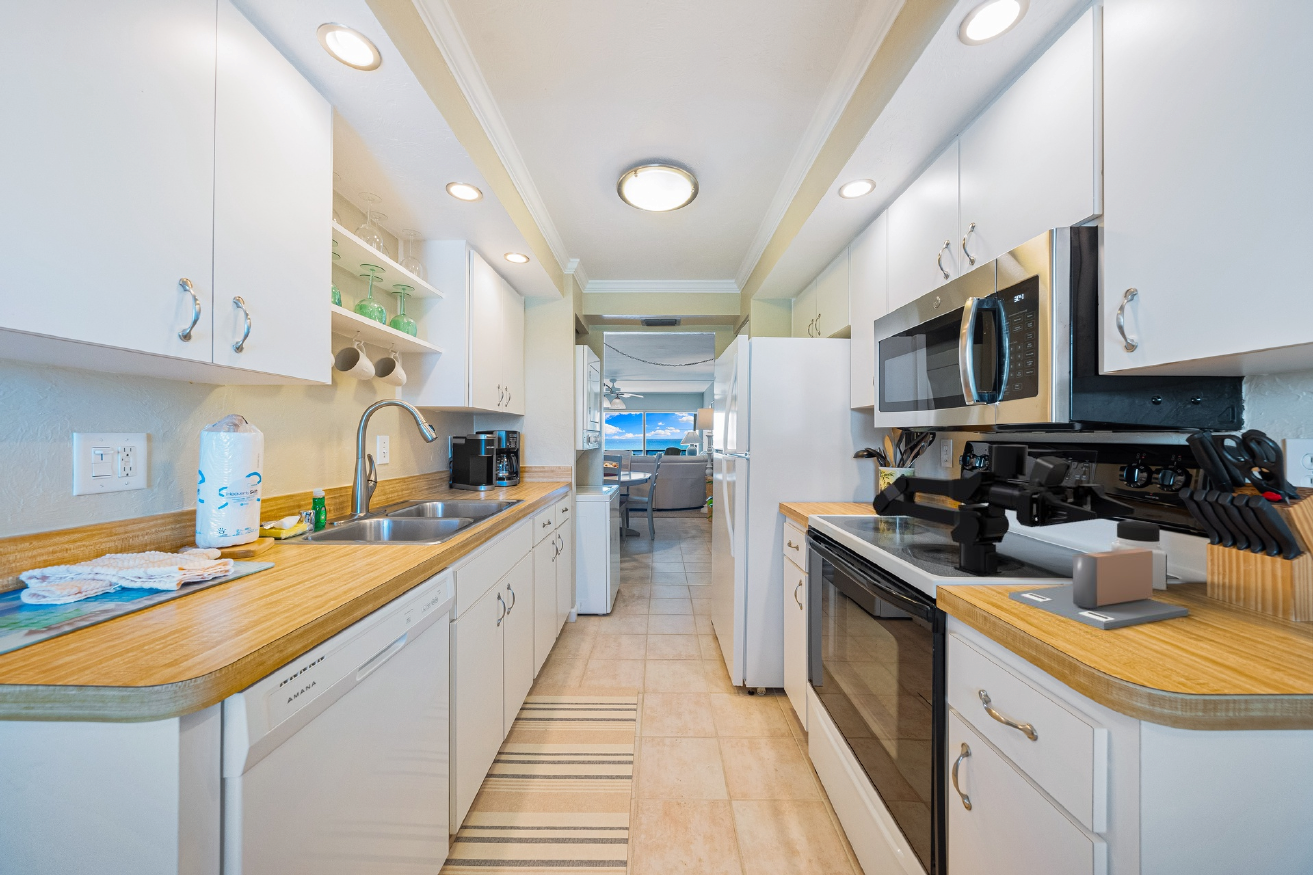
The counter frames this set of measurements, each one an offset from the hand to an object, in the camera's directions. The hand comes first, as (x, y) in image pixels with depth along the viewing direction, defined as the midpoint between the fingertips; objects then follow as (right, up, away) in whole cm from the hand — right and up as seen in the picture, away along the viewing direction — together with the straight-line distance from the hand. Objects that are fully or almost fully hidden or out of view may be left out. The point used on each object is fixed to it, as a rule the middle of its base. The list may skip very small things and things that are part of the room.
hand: (1115, 513), depth 83 cm
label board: (-1, -16, +3) cm, 17 cm away
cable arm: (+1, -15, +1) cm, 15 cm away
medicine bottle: (+18, -16, +15) cm, 29 cm away
